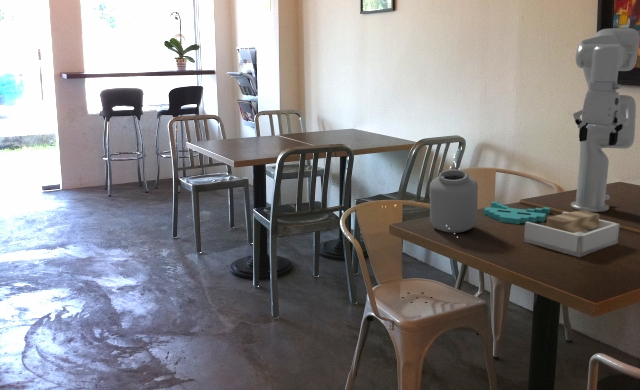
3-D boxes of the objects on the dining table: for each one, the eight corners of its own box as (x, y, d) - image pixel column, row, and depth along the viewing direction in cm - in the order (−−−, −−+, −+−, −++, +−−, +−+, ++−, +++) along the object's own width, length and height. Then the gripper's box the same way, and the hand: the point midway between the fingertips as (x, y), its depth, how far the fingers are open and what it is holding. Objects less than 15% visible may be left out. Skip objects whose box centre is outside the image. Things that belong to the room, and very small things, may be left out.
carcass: (562, 229, 201) (564, 211, 200) (617, 243, 187) (619, 223, 186) (523, 241, 189) (525, 222, 188) (579, 257, 176) (581, 236, 174)
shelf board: (580, 222, 194) (581, 209, 193) (598, 227, 189) (599, 214, 188) (545, 230, 186) (546, 217, 185) (563, 235, 181) (564, 222, 180)
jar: (468, 241, 190) (473, 159, 184) (421, 235, 196) (423, 156, 190) (480, 224, 207) (484, 149, 201) (436, 220, 213) (439, 146, 207)
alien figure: (492, 207, 231) (478, 220, 214) (492, 201, 230) (479, 214, 213) (549, 213, 222) (540, 228, 205) (550, 207, 221) (540, 221, 204)
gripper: (637, 88, 187) (630, 145, 191) (583, 84, 200) (578, 138, 205) (624, 90, 183) (617, 148, 187) (569, 86, 196) (565, 140, 200)
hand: (597, 142), depth 196 cm, fingers open, 9 cm apart
